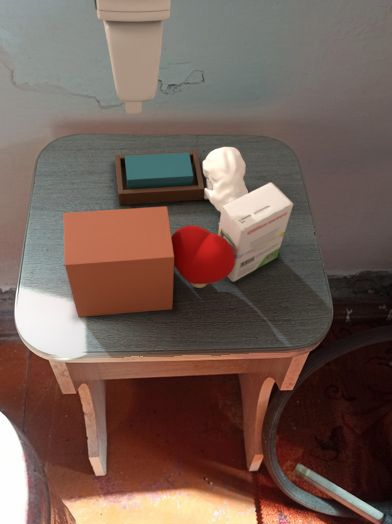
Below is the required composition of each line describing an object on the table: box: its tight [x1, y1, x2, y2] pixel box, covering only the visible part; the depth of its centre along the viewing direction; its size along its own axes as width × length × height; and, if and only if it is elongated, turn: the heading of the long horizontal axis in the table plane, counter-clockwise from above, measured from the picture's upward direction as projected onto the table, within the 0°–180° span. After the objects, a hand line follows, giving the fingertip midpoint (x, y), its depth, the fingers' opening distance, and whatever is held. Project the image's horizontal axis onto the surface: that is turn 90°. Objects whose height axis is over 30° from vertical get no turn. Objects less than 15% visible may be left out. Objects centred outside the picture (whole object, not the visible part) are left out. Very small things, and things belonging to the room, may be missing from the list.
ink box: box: [217, 182, 294, 283], centre depth 78 cm, size 8×5×12 cm, turn 125°
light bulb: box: [171, 224, 235, 289], centre depth 76 cm, size 9×7×10 cm
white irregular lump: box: [202, 146, 249, 225], centre depth 84 cm, size 6×8×12 cm
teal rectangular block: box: [125, 152, 193, 190], centre depth 87 cm, size 10×5×3 cm, turn 98°
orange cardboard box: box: [62, 206, 175, 318], centre depth 74 cm, size 13×8×12 cm, turn 97°
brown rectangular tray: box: [114, 150, 205, 206], centre depth 88 cm, size 13×8×2 cm, turn 97°
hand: (129, 80), depth 64 cm, fingers open, 8 cm apart
